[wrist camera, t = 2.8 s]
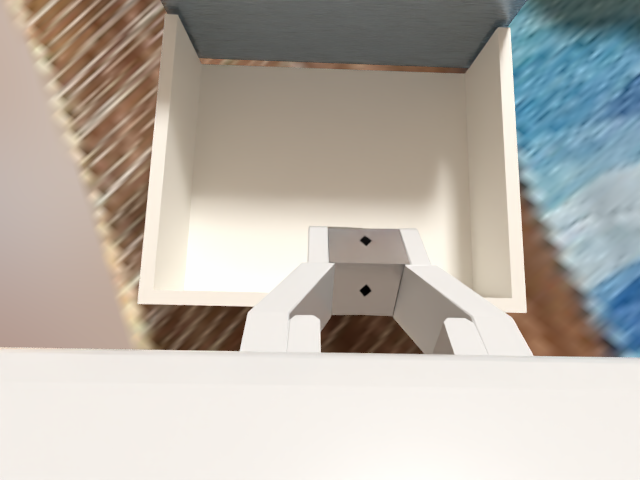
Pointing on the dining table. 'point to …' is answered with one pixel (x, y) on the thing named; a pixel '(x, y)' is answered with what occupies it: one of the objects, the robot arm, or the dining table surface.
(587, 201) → the dining table surface
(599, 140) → the dining table surface
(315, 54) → the grey rectangular panel
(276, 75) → the drawer box
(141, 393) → the robot arm
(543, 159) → the dining table surface
